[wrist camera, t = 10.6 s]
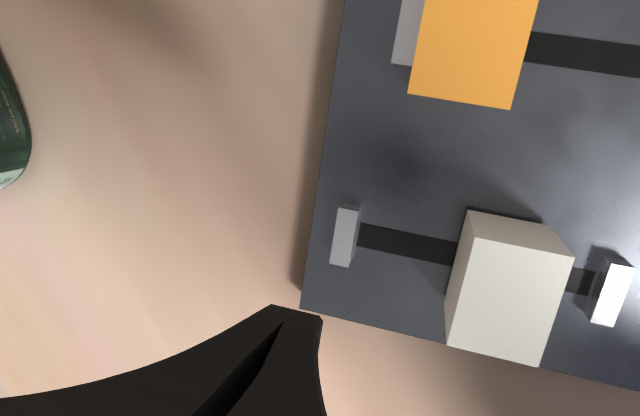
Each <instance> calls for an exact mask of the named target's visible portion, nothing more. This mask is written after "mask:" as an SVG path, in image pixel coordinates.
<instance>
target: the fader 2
mask: <svg viewBox="0 0 640 416" xmlns="http://www.w3.org/2000/svg"><path fill="white" fill-rule="evenodd" d="M574 260H575V257H574V256H573V254H572V253H571V252H570V251H569V249H568V248H567V247H566V245H565V244H564V243H563V242H562V240H561V239H560V238H559V236H558V235H557V234H556V233H555V231H554V230H553V229H552V228H551V226H549V225H544V224H539V223H533V222H528V221H523V220H518V219H513V218H508V217H503V216H498V215H493V214H488V213H483V212H478V211H473V210H468V209H467V213H466V217H465V221H464V225H463V229H462V233H461V236H460V240H459V244H458V248H457V252H456V256H455V260H454V264H453V268H452V272H451V276H450V280H449V284H448V288H447V292H446V296H445V300H444V313H445V329H446V344H447V346H451V347H455V348H459V349H463V350H467V351H471V352H475V353H479V354H484V355H488V356H492V357H496V358H500V359H504V360H508V361H512V362H516V363H520V364H525V365H529V366H533V367H537V368H538V367H539V364H540V361H541V358H542V355H543V352H544V349H545V346H546V343H547V340H548V337H549V334H550V331H551V328H552V325H553V322H554V319H555V316H556V313H557V310H558V307H559V304H560V301H561V298H562V295H563V292H564V289H565V287H566V284H567V281H568V278H569V275H570V272H571V269H572V266H573V263H574Z"/></svg>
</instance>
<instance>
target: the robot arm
mask: <svg viewBox="0 0 640 416" xmlns="http://www.w3.org/2000/svg"><path fill="white" fill-rule="evenodd" d="M322 325H323V321H322V319H321V318H320V316H318V315H314V314H310V313H306V312H301V311H297V310H293V309H289V308H285V307H281V306H277V305H273V304H270V305H269V306H267V307H265V308H263V309H262V310H260V311H258V312H256V313H255V314H253V315H251V316H250V317H248V318H246V319H245V320H243V321H241V322H239V323H238V324H236V325H234V326H232V327H231V328H229V329H227V330H225V331H224V332H222V333H220V334H218V335H216V336H214V337H212V338H210V339H208V340H206V341H204V342H202V343H200V344H198V345H196V346H194V347H192V348H190V349H188V350H186V351H183V352H181V353H179V354H176V355H174V356H171V357H169V358H167V359H164V360H161V361H159V362H156V363H153V364H151V365H148V366H145V367H142V368H139V369H136V370H133V371H129V372H126V373H122V374H119V375H115V376H112V377H108V378H105V379H102V380H98V381H94V382H90V383H86V384H81V385H77V386H73V387H68V388H63V389H58V390H52V391H47V392H42V393H36V394H30V395H23V396H15V397H7V398H0V416H327V414H326V410H325V406H324V401H323V396H322V391H321V385H320V378H319V369H318V349H319V343H320V337H321V331H322Z"/></svg>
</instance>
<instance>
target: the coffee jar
mask: <svg viewBox="0 0 640 416" xmlns="http://www.w3.org/2000/svg"><path fill="white" fill-rule="evenodd" d="M30 154H31V135H30V131H29V127H28V124H27V121H26V118H25V115H24V112H23V109H22V106H21V104H20V101H19V99H18V96H17V93H16V91H15V88H14V85H13V83H12V81H11V79H10V77H9V75H8V72H7V70H6V68H5V66H4V64H3V62H2V60H1V58H0V189H2V188H4V187H6V186H8V185H9V184H11V183H12V182H14V181H15V180H17V179H18V177H19V176H20V175H21V174H22V173H23V171H24V170H25V168H26V166H27V164H28V161H29V157H30Z"/></svg>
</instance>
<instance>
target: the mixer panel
mask: <svg viewBox="0 0 640 416" xmlns="http://www.w3.org/2000/svg"><path fill="white" fill-rule="evenodd" d="M424 4H425V0H345V3H344V10H343V17H342V23H341V30H340V37H339V44H338V50H337V57H336V64H335V70H334V77H333V84H332V91H331V97H330V104H329V111H328V118H327V124H326V131H325V138H324V144H323V151H322V158H321V165H320V171H319V178H318V185H317V192H316V198H315V205H314V212H313V219H312V225H311V232H310V239H309V245H308V252H307V259H306V266H305V272H304V279H303V286H302V293H301V299H300V306H299V309H304V310H308V311H312V312H316V313H320V314H324V315H328V316H332V317H336V318H340V319H345V320H349V321H353V322H357V323H361V324H365V325H369V326H373V327H377V328H381V329H386V330H390V331H394V332H398V333H402V334H406V335H410V336H414V337H418V338H422V339H426V340H431V341H435V342H439V343H443V344H446V329H445V313H444V300H445V296H446V292H447V288H448V284H449V280H450V276H451V272H452V268H453V264H454V260H455V256H456V252H457V248H458V244H459V240H460V236H461V233H462V229H463V225H464V221H465V217H466V213H467V209H468V210H473V211H478V212H483V213H488V214H493V215H498V216H503V217H508V218H513V219H518V220H523V221H528V222H533V223H539V224H544V225H549V226H551V228H552V229H553V230H554V231H555V233H556V234H557V235H558V236H559V238H560V239H561V240H562V242H563V243H564V244H565V245H566V247H567V248H568V249H569V251H570V252H571V253H572V254H573V256H574V257H575V260H574V263H573V266H572V269H571V272H570V275H569V278H568V281H567V284H566V287H565V289H564V292H563V295H562V298H561V301H560V304H559V307H558V310H557V313H556V316H555V319H554V322H553V325H552V328H551V331H550V334H549V337H548V340H547V343H546V346H545V349H544V352H543V355H542V358H541V361H540V364H539V367H541V368H545V369H549V370H554V371H558V372H562V373H566V374H570V375H574V376H578V377H582V378H586V379H590V380H595V381H599V382H603V383H607V384H611V385H615V386H619V387H623V388H627V389H631V390H635V391H640V0H539V2H538V6H537V10H536V14H535V17H534V21H533V25H532V29H531V32H530V36H529V40H528V44H527V48H526V51H525V55H524V59H523V63H522V67H521V70H520V74H519V78H518V82H517V86H516V89H515V93H514V97H513V101H512V105H511V108H510V110H506V109H500V108H494V107H488V106H482V105H475V104H469V103H463V102H457V101H451V100H444V99H438V98H432V97H426V96H420V95H413V94H407V91H408V86H409V81H410V76H411V70H412V65H413V60H414V55H415V50H416V45H417V40H418V35H419V30H420V25H421V19H422V14H423V9H424Z"/></svg>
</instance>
